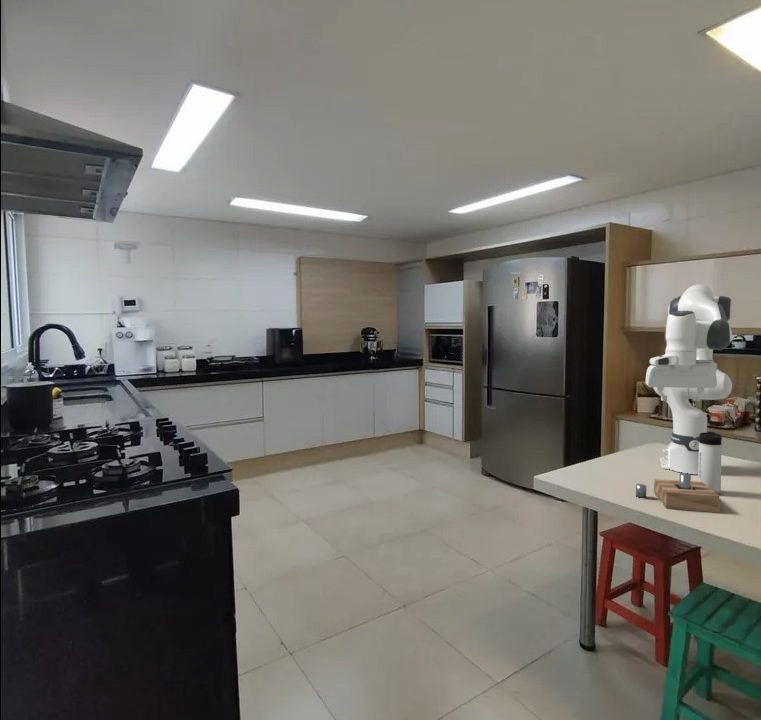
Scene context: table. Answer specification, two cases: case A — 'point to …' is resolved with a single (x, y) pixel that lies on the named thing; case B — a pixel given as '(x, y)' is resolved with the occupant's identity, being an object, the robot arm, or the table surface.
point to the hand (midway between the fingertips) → (680, 401)
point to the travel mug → (710, 460)
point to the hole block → (686, 496)
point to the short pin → (640, 491)
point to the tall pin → (685, 481)
